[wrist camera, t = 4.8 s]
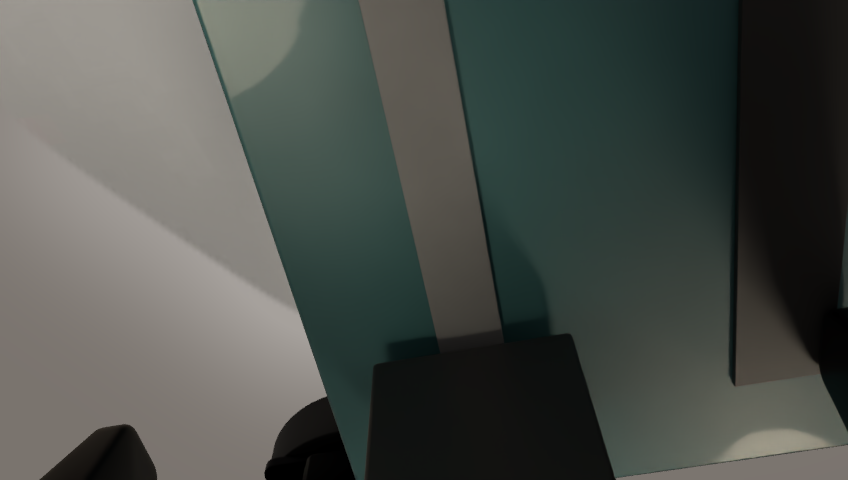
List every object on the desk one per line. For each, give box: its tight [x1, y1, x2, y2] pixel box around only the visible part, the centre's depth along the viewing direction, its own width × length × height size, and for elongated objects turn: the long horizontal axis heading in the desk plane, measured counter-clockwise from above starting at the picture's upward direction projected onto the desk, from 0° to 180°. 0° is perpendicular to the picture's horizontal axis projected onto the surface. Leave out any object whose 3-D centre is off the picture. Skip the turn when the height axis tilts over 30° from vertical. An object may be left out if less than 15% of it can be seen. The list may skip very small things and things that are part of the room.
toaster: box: [193, 0, 848, 480], centre depth 13 cm, size 8×10×10 cm
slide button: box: [364, 333, 616, 480], centre depth 8 cm, size 2×2×2 cm
